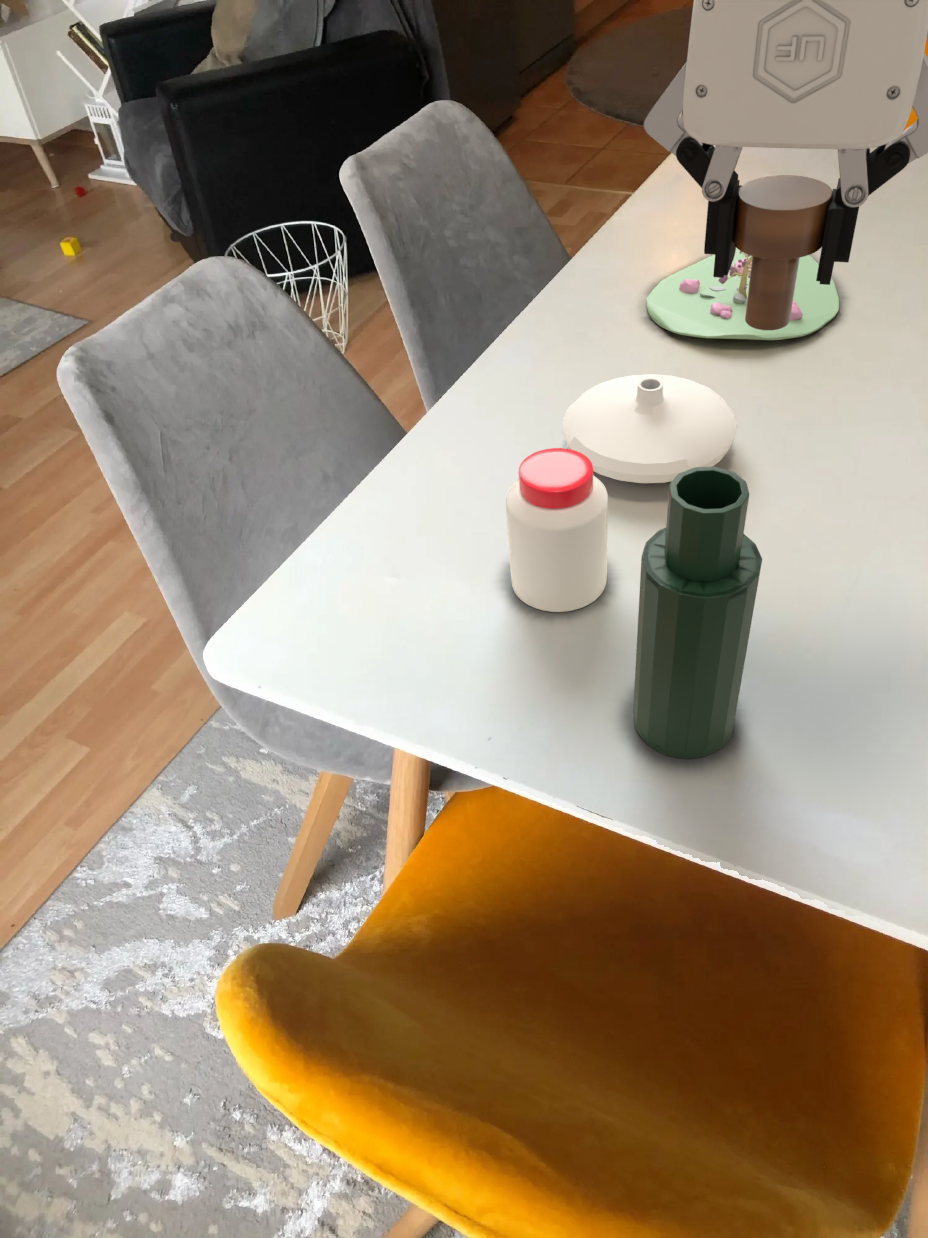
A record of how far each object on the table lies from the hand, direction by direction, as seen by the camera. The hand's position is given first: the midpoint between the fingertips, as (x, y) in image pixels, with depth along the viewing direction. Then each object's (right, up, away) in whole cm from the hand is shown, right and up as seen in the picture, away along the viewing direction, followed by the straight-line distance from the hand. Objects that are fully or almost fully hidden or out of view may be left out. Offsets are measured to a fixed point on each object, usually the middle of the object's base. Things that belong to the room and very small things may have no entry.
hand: (774, 266), depth 51 cm
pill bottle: (-9, -16, +27) cm, 33 cm away
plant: (+15, +18, +58) cm, 63 cm away
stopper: (0, -2, +2) cm, 3 cm away
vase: (+1, -3, +39) cm, 39 cm away
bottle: (-1, -26, +16) cm, 30 cm away
